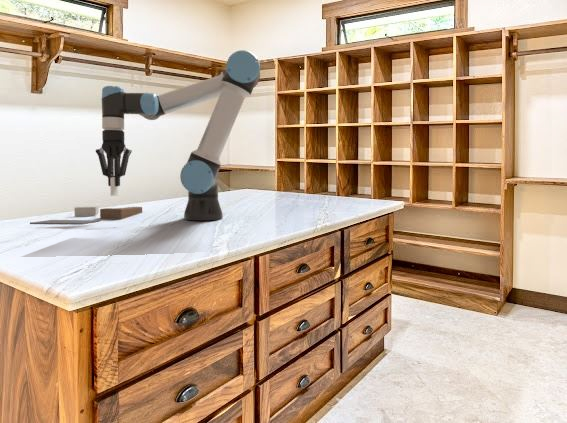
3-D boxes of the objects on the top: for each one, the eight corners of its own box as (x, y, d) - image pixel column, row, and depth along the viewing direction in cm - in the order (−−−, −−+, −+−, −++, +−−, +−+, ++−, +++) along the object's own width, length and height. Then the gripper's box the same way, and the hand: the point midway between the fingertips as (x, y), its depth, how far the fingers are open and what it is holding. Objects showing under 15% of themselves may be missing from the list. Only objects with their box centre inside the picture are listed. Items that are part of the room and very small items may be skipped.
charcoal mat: (100, 221, 181) (100, 220, 181) (82, 224, 168) (82, 223, 168) (51, 220, 183) (51, 219, 183) (29, 223, 171) (29, 222, 170)
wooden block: (99, 208, 186) (123, 206, 204) (99, 220, 186) (123, 217, 204) (120, 209, 184) (142, 206, 202) (121, 220, 185) (142, 217, 202)
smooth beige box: (98, 218, 201) (98, 206, 201) (95, 219, 193) (95, 207, 193) (78, 218, 199) (78, 206, 199) (74, 220, 191) (74, 207, 191)
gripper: (135, 131, 175) (135, 195, 176) (101, 131, 176) (102, 195, 177) (126, 129, 167) (126, 195, 169) (90, 129, 169) (92, 195, 170)
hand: (114, 195), depth 173 cm, fingers closed
